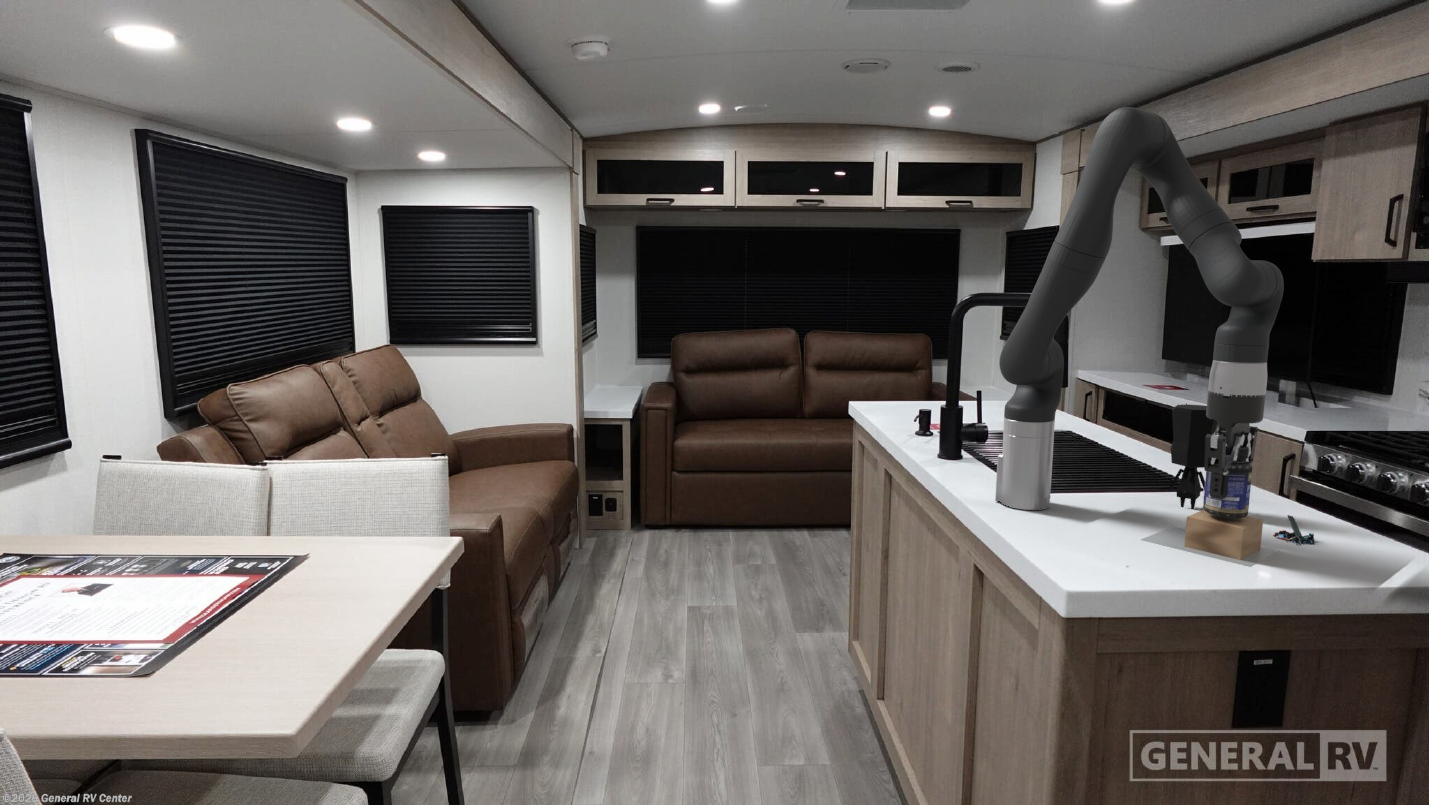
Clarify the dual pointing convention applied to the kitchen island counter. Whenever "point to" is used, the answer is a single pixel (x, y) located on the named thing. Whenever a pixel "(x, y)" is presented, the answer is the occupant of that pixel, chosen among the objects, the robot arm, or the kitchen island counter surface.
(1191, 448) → the toy
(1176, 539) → the build plate
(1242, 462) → the pill bottle
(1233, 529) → the wooden block
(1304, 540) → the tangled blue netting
